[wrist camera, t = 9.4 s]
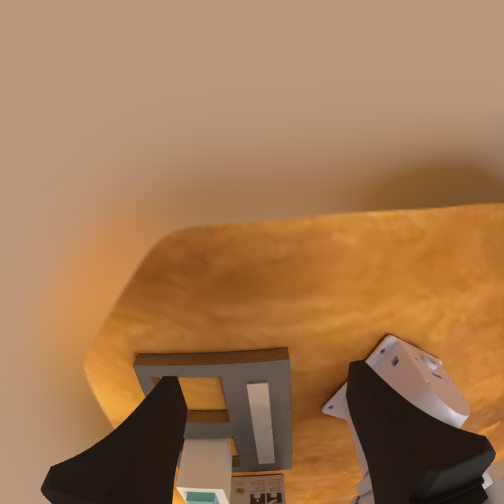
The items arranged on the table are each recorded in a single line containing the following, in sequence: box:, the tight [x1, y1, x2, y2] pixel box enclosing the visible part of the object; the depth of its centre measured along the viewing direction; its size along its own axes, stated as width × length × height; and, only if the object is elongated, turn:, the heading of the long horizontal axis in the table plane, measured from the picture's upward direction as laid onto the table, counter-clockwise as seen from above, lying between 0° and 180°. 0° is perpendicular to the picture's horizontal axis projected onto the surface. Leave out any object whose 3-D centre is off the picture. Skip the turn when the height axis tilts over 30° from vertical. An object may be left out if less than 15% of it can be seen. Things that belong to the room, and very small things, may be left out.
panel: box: [133, 347, 292, 472], centre depth 25 cm, size 16×12×2 cm
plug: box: [176, 438, 233, 504], centre depth 24 cm, size 4×4×8 cm
